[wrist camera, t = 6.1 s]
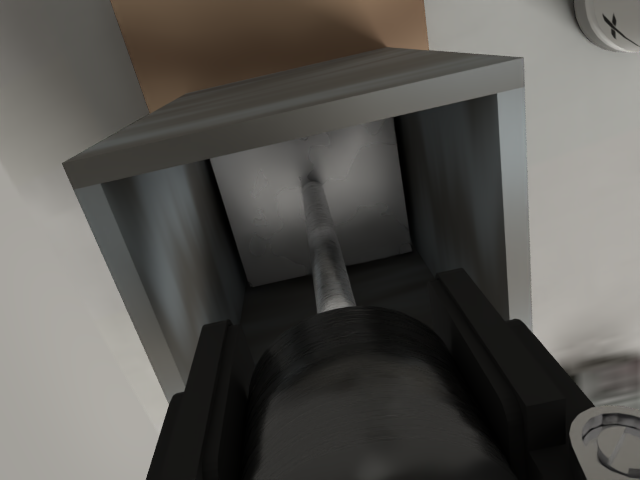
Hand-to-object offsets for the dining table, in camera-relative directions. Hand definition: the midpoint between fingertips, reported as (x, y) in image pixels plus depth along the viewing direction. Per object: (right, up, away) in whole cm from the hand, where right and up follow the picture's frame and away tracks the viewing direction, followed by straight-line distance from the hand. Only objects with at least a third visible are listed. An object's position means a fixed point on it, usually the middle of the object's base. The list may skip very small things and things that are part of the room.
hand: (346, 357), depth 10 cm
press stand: (-1, +7, +16) cm, 17 cm away
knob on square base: (-1, +5, +12) cm, 13 cm away
